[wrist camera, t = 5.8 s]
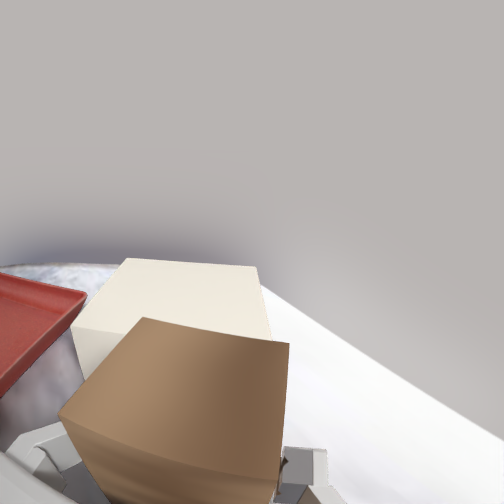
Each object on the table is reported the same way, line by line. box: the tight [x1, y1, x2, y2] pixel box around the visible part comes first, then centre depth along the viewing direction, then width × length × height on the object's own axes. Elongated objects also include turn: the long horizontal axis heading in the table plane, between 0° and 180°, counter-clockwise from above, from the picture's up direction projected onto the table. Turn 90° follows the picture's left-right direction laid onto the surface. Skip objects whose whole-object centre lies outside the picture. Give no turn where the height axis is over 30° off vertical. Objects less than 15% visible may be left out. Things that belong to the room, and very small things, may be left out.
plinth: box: [70, 258, 273, 381], centre depth 22 cm, size 12×12×6 cm
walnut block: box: [57, 317, 289, 504], centre depth 9 cm, size 5×5×10 cm
